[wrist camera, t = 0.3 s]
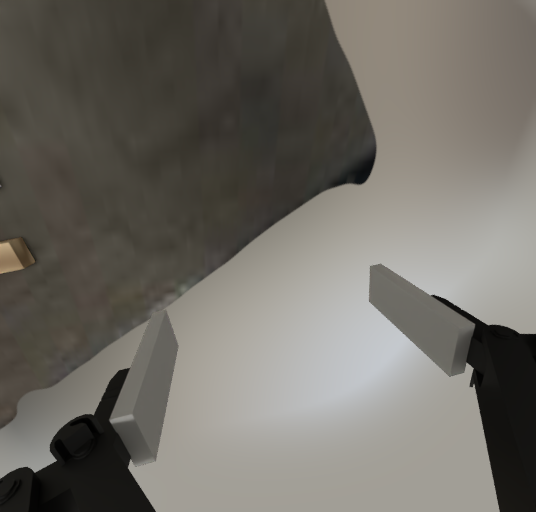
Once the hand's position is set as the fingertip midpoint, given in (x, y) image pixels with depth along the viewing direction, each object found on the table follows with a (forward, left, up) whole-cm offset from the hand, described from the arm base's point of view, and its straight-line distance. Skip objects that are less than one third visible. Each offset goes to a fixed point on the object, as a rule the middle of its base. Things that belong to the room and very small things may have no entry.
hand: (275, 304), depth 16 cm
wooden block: (-1, -34, -28) cm, 44 cm away
